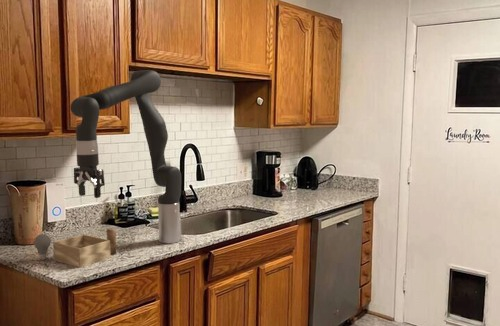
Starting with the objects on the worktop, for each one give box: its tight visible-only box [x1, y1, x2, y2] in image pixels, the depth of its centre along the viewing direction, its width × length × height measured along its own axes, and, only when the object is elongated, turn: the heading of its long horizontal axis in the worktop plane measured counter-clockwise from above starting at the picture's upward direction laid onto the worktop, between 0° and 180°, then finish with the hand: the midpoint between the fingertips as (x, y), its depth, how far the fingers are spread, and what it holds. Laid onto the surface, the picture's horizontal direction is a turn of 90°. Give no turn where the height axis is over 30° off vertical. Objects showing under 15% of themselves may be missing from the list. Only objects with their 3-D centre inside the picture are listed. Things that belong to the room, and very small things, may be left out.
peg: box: [106, 228, 117, 256], centre depth 192 cm, size 3×3×10 cm
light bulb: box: [33, 233, 52, 261], centre depth 184 cm, size 6×6×10 cm
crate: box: [52, 234, 112, 268], centre depth 185 cm, size 14×16×7 cm
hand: (89, 196), depth 176 cm, fingers open, 8 cm apart
